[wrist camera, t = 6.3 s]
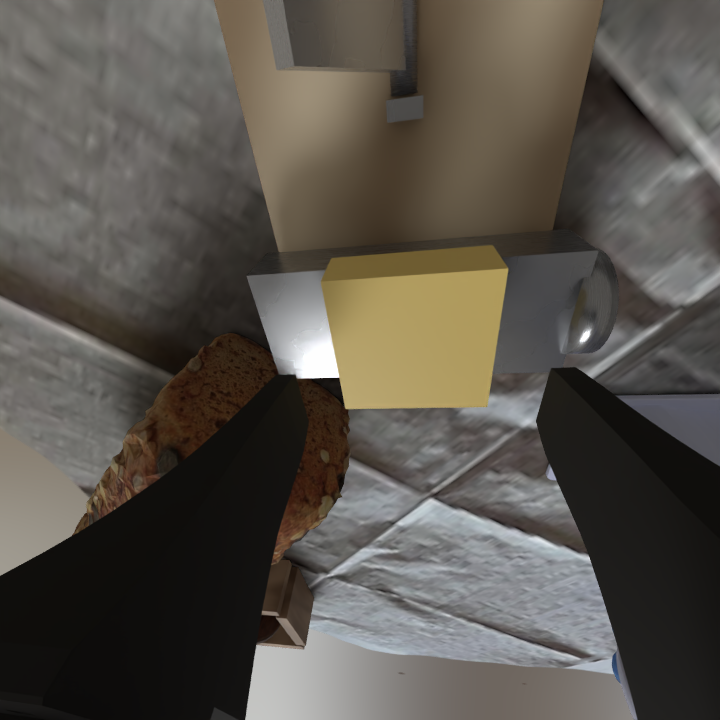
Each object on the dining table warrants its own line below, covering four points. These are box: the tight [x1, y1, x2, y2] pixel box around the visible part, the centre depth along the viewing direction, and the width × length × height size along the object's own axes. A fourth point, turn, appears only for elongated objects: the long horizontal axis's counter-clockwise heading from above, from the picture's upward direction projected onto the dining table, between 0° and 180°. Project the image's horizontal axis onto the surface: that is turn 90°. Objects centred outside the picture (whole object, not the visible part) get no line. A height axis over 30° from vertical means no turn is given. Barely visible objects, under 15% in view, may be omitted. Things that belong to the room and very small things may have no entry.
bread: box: [72, 333, 351, 565], centre depth 22 cm, size 19×11×10 cm, turn 141°
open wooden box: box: [257, 560, 314, 649], centre depth 41 cm, size 13×13×5 cm
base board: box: [214, 0, 604, 252], centre depth 13 cm, size 12×17×1 cm
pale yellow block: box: [321, 245, 508, 409], centre depth 13 cm, size 5×5×6 cm
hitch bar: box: [247, 95, 619, 378], centre depth 11 cm, size 13×16×5 cm
